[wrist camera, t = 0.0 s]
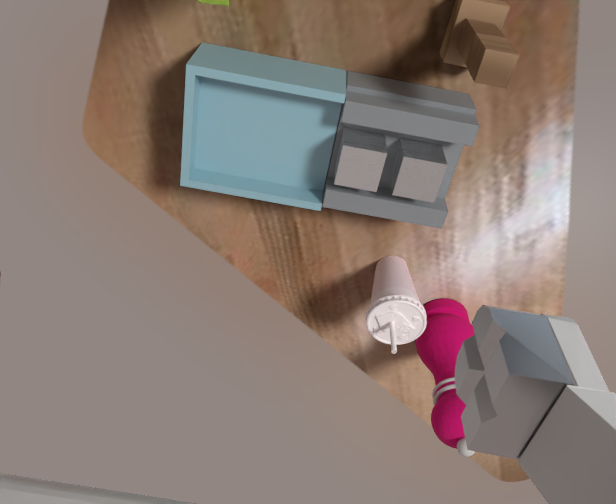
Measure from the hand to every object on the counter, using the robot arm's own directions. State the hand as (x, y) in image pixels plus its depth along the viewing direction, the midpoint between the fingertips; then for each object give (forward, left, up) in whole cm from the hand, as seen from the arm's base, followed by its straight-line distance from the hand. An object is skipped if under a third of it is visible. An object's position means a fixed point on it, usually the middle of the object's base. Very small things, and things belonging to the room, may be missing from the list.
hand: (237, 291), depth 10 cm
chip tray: (+17, -3, -48) cm, 51 cm away
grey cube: (+17, +12, -44) cm, 49 cm away
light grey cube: (+17, +6, -44) cm, 48 cm away
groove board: (+17, +10, -48) cm, 52 cm away
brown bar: (+5, +14, -48) cm, 50 cm away
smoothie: (+33, +14, -48) cm, 60 cm away
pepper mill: (+39, +22, -48) cm, 66 cm away
